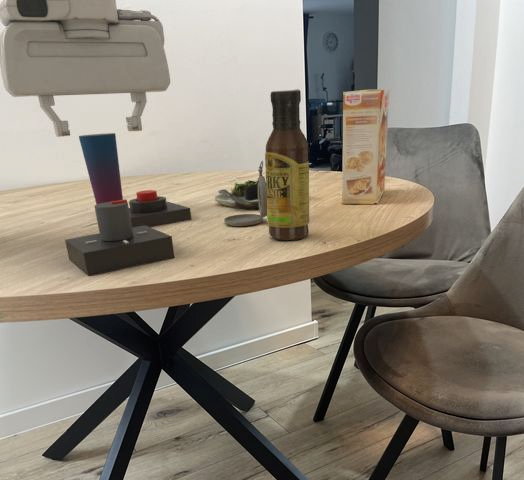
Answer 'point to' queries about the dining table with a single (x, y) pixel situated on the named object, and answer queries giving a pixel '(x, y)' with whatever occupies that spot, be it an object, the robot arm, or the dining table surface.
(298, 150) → the sauce bottle
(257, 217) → the pocket watch
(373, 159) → the coffeecake box
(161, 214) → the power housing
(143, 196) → the power button
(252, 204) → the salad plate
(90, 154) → the cup
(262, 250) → the dining table surface
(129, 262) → the panel
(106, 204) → the timer knob
